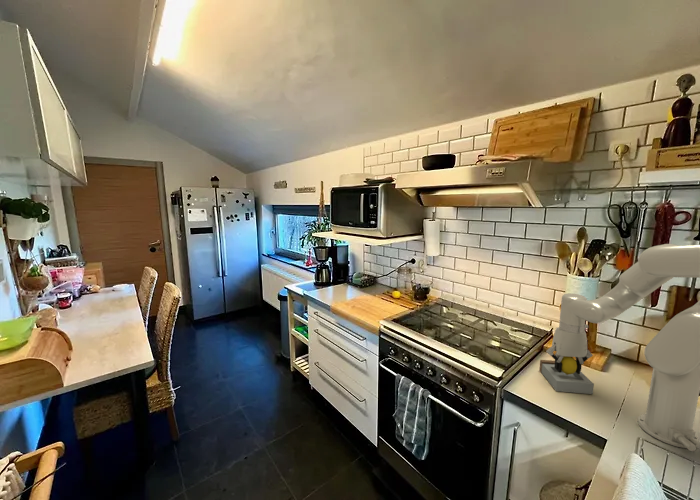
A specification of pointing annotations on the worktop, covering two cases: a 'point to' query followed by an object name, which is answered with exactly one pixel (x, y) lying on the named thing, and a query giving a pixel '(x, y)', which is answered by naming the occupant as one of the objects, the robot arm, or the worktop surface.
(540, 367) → the wall
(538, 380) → the worktop surface
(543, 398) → the worktop surface
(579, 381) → the tray
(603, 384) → the worktop surface
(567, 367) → the lemon
